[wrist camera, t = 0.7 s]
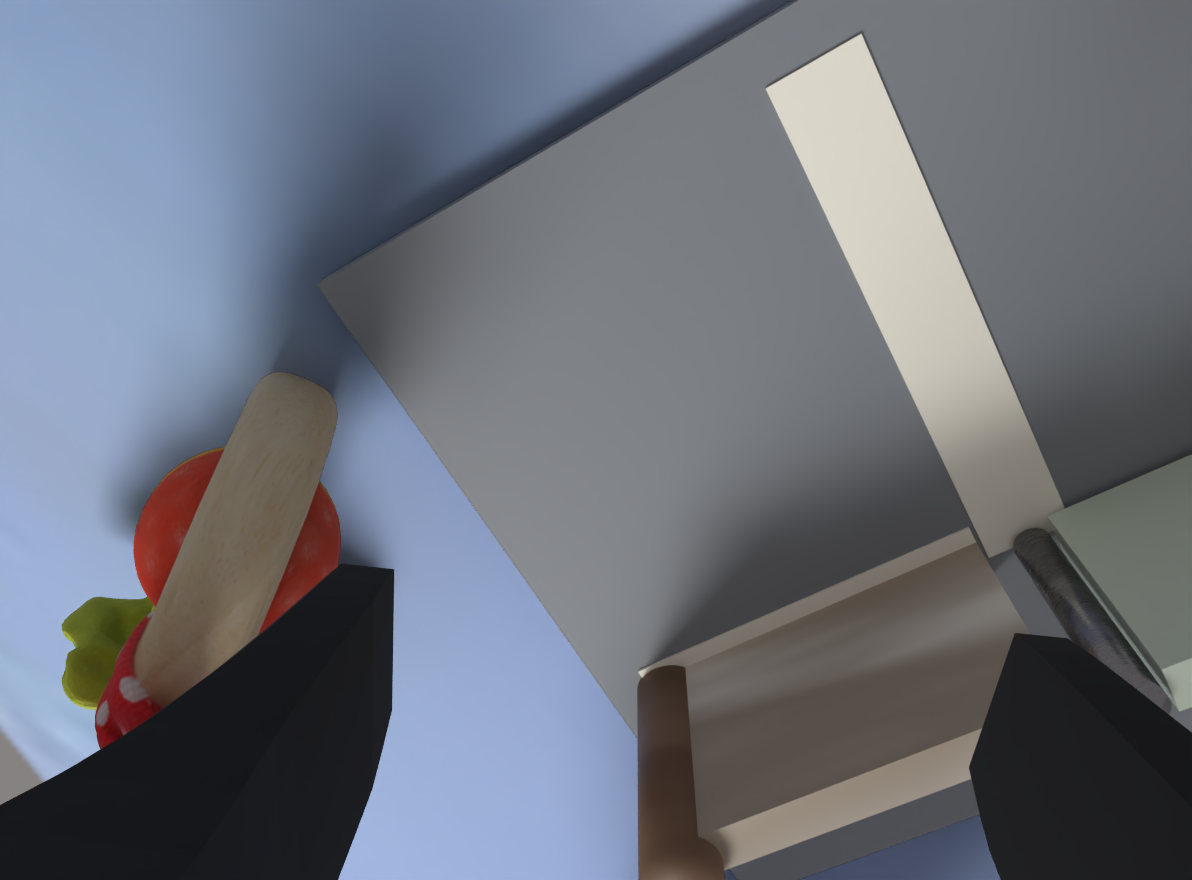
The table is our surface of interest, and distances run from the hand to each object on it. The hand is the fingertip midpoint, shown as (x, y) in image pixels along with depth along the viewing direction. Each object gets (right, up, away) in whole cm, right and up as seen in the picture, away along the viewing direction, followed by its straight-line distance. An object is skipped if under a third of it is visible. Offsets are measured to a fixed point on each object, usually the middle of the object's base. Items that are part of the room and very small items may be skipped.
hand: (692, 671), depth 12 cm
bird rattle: (-8, +2, +11) cm, 14 cm away
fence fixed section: (+4, -2, +11) cm, 12 cm away
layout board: (+8, +3, +9) cm, 12 cm away
